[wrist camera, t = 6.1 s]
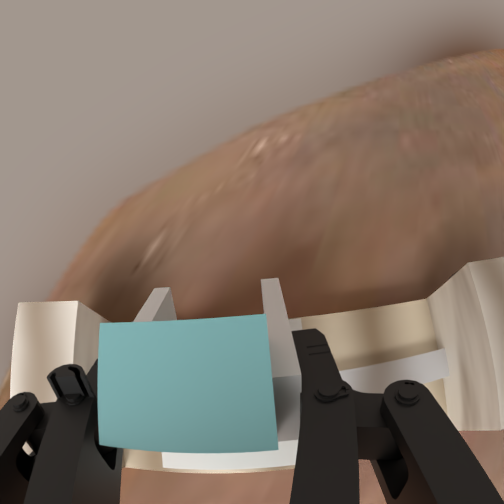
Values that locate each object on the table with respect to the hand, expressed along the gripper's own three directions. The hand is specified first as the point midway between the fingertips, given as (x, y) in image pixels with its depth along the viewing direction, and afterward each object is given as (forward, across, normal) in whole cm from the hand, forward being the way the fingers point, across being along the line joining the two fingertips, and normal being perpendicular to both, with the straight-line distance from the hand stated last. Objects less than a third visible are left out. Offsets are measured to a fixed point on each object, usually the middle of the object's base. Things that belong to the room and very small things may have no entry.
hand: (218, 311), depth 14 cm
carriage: (+2, 0, -7) cm, 7 cm away
